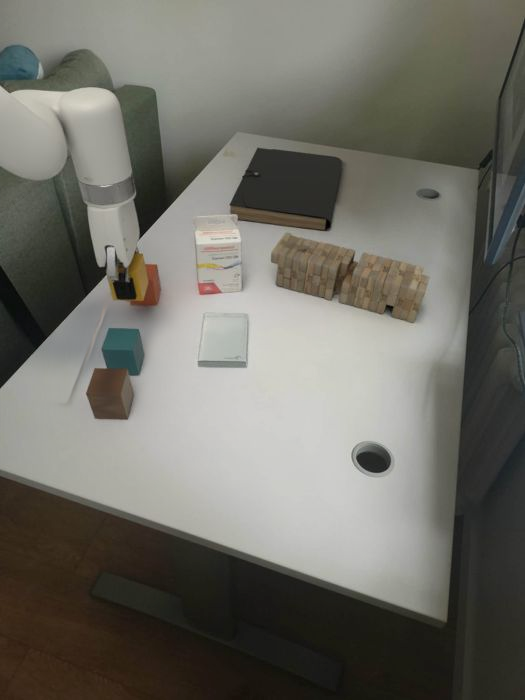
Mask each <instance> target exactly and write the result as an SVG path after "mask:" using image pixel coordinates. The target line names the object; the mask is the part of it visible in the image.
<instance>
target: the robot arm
mask: <svg viewBox="0 0 525 700" xmlns="http://www.w3.org/2000/svg"><path fill="white" fill-rule="evenodd" d="M119 101H120V100H119V99H118V97H117V96H116V94H114V93H113V92H112V91H111V90H108V89H106V88H102V87H96V86H95V87H93V86H91V87H89V86H88V87H80V88H75V89H72V90H69V91H58V90H40V89H18V90H15V91H12V92H9V91H8V90H6V89H5V88H4V87H2V85H0V167H1V168H3V169H4V170H6V171H7V172H9V173H11V174H13V175H15V176H18V177H19V178H22V179H25V180H29V181H36V182H37V181H39V182H40V181H47V180H50V179H53V178H54V177H57V175H58V174H59V173H60V172H61V171H62V170H63V168H64V167H65V164H66V163H67V158H68V151H69V153H70V157H71V160H72V164H73V168H74V171H75V175H76V178H77V182H78V186H79V189H80V194H81V196H82V197H81V198H82V200H83V202H84V204H85V205H87V208H86V209H87V219H88V220H87V221H88V226H89V233H90V238H91V242H92V247H93V252H94V256H95V260H96V263H97V266H98V267H99V268H105V267H106V269H107V274H106V278H107V280H111V281H112V282H113V286H114V290H115V294H116V298H117V299H124V300H123V301H126V300H135V299H136V297H137V296H136V291H135V286H134V282H133V278H130V271H129V265H130V263H131V261H132V258H133V255H134V253H135V254H140V251H139V248H138V243H139V240H140V234H141V233H140V226H139V219H138V213H137V209H136V205H135V200H134V199H135V198H136V196H137V189H136V185H135V178H134V174H133V173H134V172H133V168H132V163H131V157H130V151H129V146H128V141H127V135H126V130H125V125H124V124H125V123H124V119H123V113H122V109H121V104H120V102H119ZM117 259H119V260H120V261H117ZM118 267H124V273H120V272H118Z"/></svg>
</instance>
